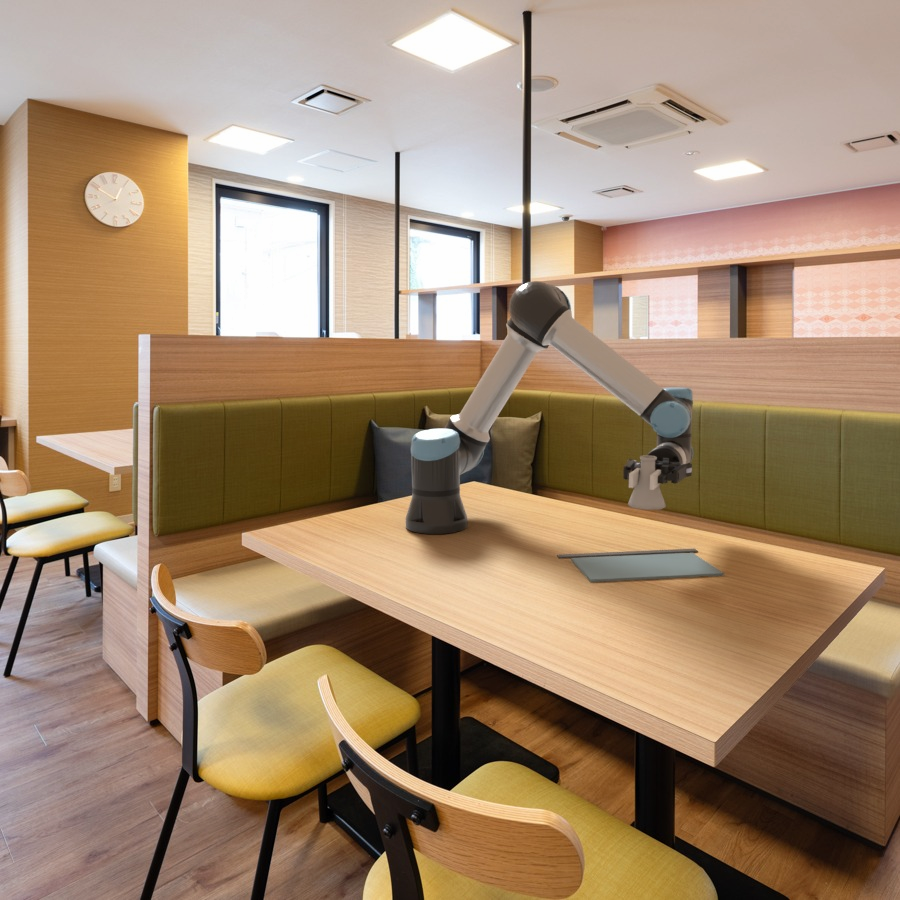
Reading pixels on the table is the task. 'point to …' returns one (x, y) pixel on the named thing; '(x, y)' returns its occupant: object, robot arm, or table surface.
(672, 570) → the mat
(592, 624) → the table surface
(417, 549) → the table surface
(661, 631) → the table surface
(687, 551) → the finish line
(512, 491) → the table surface
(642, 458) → the flask
